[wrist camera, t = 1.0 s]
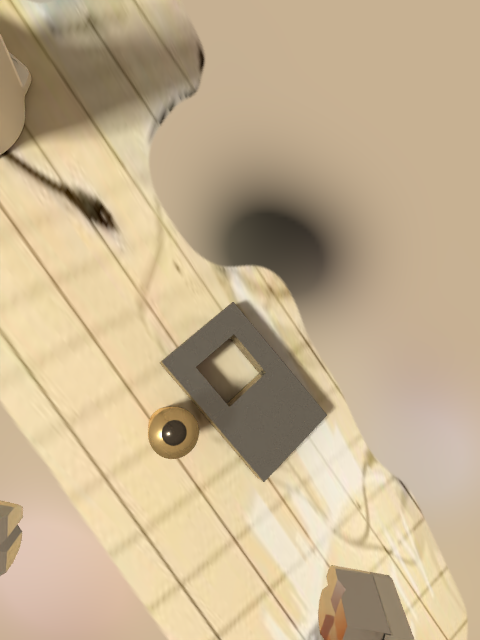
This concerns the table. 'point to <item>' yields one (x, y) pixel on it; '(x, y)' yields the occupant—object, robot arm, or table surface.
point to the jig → (247, 394)
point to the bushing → (172, 432)
